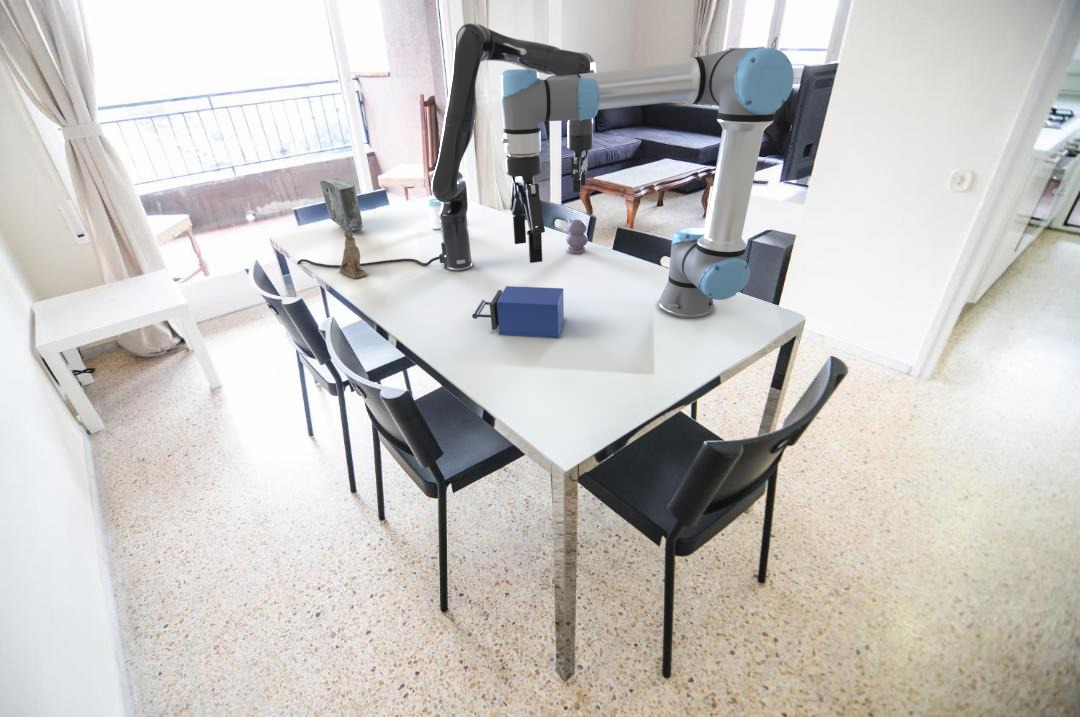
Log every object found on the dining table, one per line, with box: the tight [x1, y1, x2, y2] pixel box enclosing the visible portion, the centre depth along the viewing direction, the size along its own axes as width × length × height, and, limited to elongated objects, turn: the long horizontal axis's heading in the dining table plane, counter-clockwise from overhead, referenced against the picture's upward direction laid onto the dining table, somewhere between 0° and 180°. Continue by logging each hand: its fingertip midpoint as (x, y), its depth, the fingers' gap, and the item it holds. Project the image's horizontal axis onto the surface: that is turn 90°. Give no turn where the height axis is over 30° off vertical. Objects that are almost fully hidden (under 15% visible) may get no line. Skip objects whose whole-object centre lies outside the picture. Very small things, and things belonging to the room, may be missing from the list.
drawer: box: [471, 289, 504, 331], centre depth 137 cm, size 20×10×8 cm, turn 80°
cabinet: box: [497, 285, 565, 339], centre depth 136 cm, size 16×11×10 cm, turn 80°
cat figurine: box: [565, 218, 589, 255], centre depth 187 cm, size 9×8×12 cm
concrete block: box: [319, 177, 364, 232], centre depth 222 cm, size 27×9×20 cm, turn 36°
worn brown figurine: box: [339, 230, 367, 280], centre depth 174 cm, size 12×6×18 cm, turn 43°
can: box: [426, 198, 443, 230], centre depth 220 cm, size 7×7×12 cm
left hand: (579, 188), depth 155 cm, fingers open, 8 cm apart
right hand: (527, 252), depth 115 cm, fingers open, 13 cm apart
